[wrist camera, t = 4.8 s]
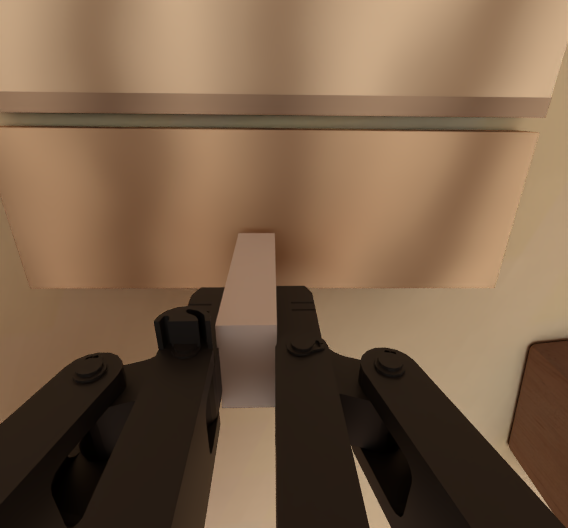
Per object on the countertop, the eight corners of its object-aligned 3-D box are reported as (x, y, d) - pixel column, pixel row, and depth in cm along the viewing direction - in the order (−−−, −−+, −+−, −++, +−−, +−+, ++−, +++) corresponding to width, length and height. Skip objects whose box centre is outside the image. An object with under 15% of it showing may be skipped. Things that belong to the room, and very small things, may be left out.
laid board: (2, 110, 14) (-30, 111, 13) (-62, -99, 12) (-111, -128, 10) (519, 116, 15) (545, 117, 14) (573, -84, 12) (614, -110, 11)
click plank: (49, 274, 18) (30, 288, 16) (5, 125, 15) (-22, 127, 13) (478, 274, 18) (494, 287, 17) (515, 130, 15) (539, 132, 14)
